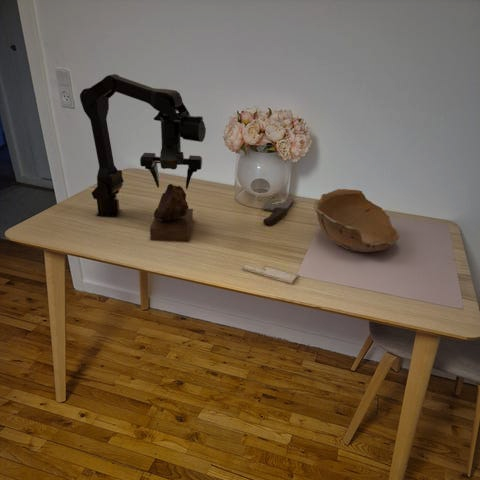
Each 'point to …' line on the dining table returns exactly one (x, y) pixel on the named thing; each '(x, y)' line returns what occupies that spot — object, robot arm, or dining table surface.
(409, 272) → the dining table surface
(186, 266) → the dining table surface
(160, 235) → the dark walnut box
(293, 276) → the white plastic strip tool
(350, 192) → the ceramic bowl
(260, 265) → the dining table surface
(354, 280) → the dining table surface
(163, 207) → the decorative rock
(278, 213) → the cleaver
